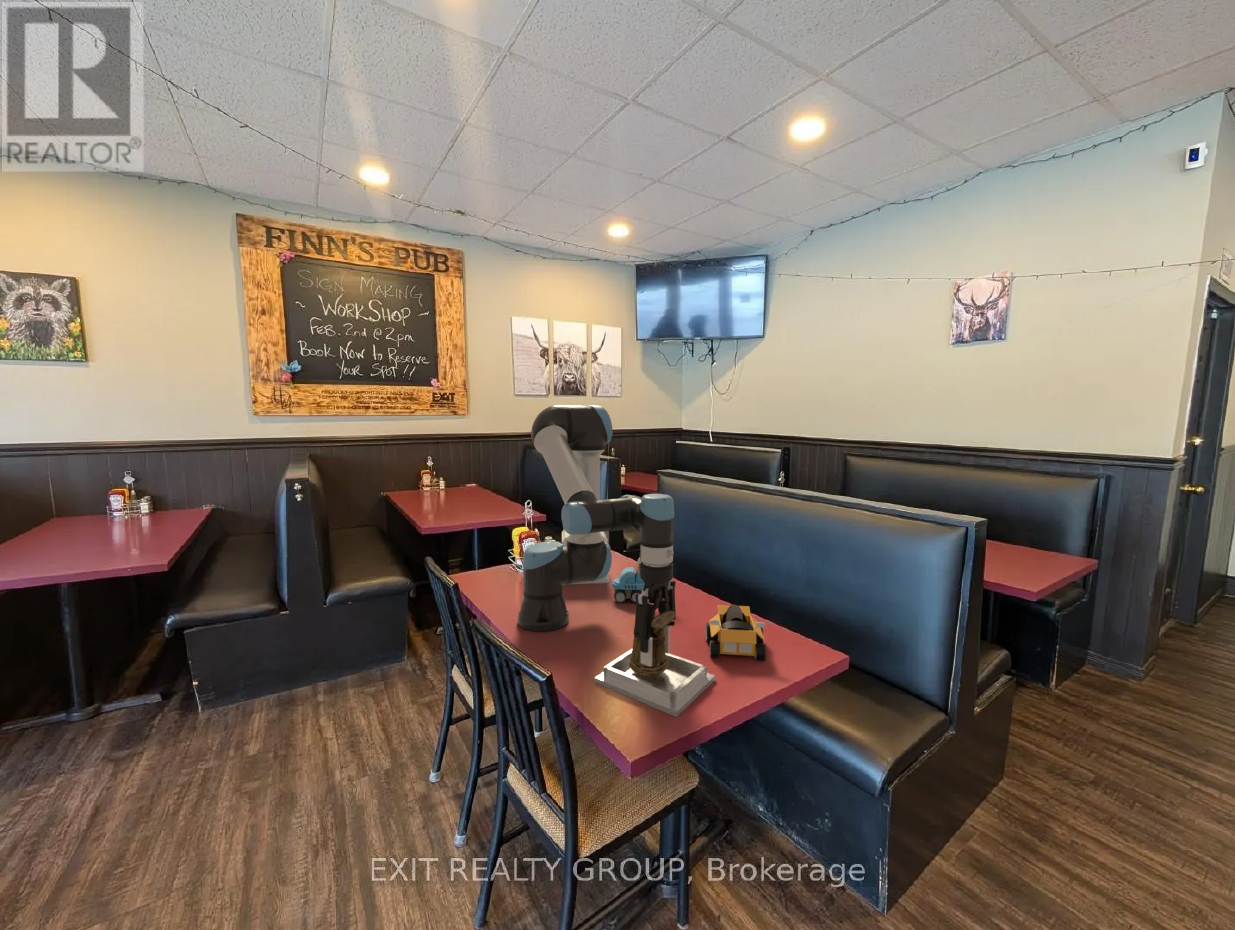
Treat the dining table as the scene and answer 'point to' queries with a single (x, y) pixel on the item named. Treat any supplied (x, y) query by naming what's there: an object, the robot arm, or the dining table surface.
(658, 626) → the wooden mug
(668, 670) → the mug bay
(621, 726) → the dining table surface
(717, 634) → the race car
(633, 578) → the toy excavator
